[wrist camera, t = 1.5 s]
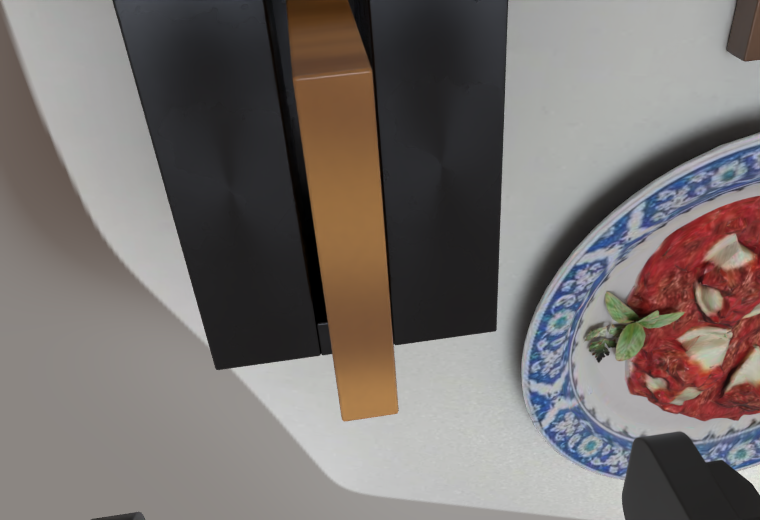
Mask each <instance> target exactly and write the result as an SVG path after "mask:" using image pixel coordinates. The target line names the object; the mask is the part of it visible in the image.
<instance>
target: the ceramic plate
mask: <svg viewBox="0 0 760 520" xmlns="http://www.w3.org/2000/svg"><path fill="white" fill-rule="evenodd" d="M521 381H522V390H523V396H524V400H525V404H526V408H527V411H528V413H529V415H530V417H531V419H532V421H533V424H534V426H535V427H536V429H537V430H538V432H539V434H540V435H541V436H542V437H543V439H544V440H545V441H546V442H547V443H548V444H549V445H550V446H551V447H552V448H553V449H554V450H555V451H556V452H557V453H559V454H560V455H561V456H563V457H564V458H566V459H567V460H569V461H570V462H572V463H573V464H575V465H577V466H579V467H581V468H584V469H586V470H589V471H591V472H594V473H596V474H600V475H603V476H607V477H611V478H615V479H621V480H625V477H626V473H627V468H628V463H629V458H630V453H631V448H632V444H633V441H634V440H635V439H636V438H638V437H645V436H651V435H658V434H664V433H671V432H677V431H681V432H684V433H685V434H686V435H688V437H689V438H690V439H691V440H692V442H693V443H694V445H695V446H696V448H697V449H698V451H699V453H700V454H701V456H702V457H703V459H704V461H705V462H711V461H717V460H723V461H724V462H726V463H727V464H728V465H729V466H731V467H732V468H733V469H734V470H735V471H740V470H743V469H747V468H750V467H754V466H757V465H759V464H760V132H759V133H756V134H753V135H750V136H747V137H744V138H741V139H738V140H735V141H732V142H729V143H726V144H723V145H720V146H718V147H716V148H714V149H712V150H710V151H708V152H706V153H703V154H701V155H699V156H697V157H695V158H693V159H691V160H689V161H687V162H685V163H683V164H681V165H679V166H677V167H675V168H674V169H672V170H670V171H669V172H667V173H665V174H664V175H662V176H660V177H659V178H657V179H655V180H654V181H652V182H651V183H649V184H648V185H647V186H645V187H644V188H642V189H641V190H639V191H638V192H636V193H635V194H634V195H632V196H631V197H630V198H628V199H627V200H626V201H625V202H623V203H622V204H621V205H620V206H618V207H617V208H616V209H615V210H614V211H612V212H611V213H610V214H609V215H608V216H607V217H606V218H605V219H604V220H602V221H601V222H600V223H599V224H598V225H597V226H596V227H595V228H594V229H593V230H592V231H591V232H590V233H589V234H588V235H587V236H586V237H585V238H584V239H583V241H582V242H581V243H580V244H579V245H578V246H577V247H576V248H575V249H574V250H573V252H572V253H571V254H570V256H569V257H568V258H567V259H566V261H565V262H564V263H563V265H562V266H561V267H560V268H559V270H558V271H557V273H556V275H555V276H554V278H553V279H552V281H551V282H550V284H549V285H548V287H547V289H546V290H545V292H544V294H543V296H542V298H541V300H540V302H539V304H538V306H537V308H536V310H535V313H534V315H533V318H532V320H531V323H530V325H529V329H528V332H527V336H526V339H525V343H524V348H523V355H522V362H521Z"/></svg>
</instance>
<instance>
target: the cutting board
mask: <svg viewBox="0 0 760 520" xmlns="http://www.w3.org/2000/svg"><path fill="white" fill-rule="evenodd" d="M727 51H728V52H730V53H731V54H733V55H734V56H736V57H738V58H739V59H741V60H742V61H753V60H760V0H738V1H737V5H736V10H735V14H734V19H733V23H732V28H731V33H730V37H729V42H728V46H727Z"/></svg>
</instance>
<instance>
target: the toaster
mask: <svg viewBox="0 0 760 520" xmlns="http://www.w3.org/2000/svg"><path fill="white" fill-rule="evenodd" d="M112 1H113V4H114V8H115V11H116V15H117V19H118V22H119V26H120V29H121V33H122V36H123V40H124V44H125V47H126V51H127V54H128V58H129V61H130V65H131V69H132V72H133V76H134V79H135V83H136V86H137V90H138V94H139V97H140V101H141V104H142V108H143V111H144V115H145V119H146V122H147V126H148V129H149V133H150V136H151V140H152V144H153V147H154V151H155V154H156V158H157V161H158V165H159V169H160V172H161V176H162V179H163V183H164V186H165V190H166V194H167V197H168V201H169V204H170V208H171V211H172V215H173V219H174V222H175V226H176V229H177V233H178V236H179V240H180V244H181V247H182V251H183V254H184V258H185V261H186V265H187V269H188V272H189V276H190V279H191V283H192V286H193V290H194V294H195V297H196V301H197V304H198V308H199V311H200V315H201V319H202V322H203V326H204V329H205V333H206V336H207V340H208V344H209V347H210V351H211V354H212V358H213V361H214V365H215V368H216V370H221V369H228V368H236V367H243V366H250V365H257V364H264V363H271V362H278V361H285V360H292V359H299V358H307V357H314V356H320V355H321V354H322V355H328V354H332V348H331V341H330V334H329V327H328V320H327V313H326V306H325V300H324V293H323V286H322V279H321V272H320V265H319V258H318V252H317V245H316V238H315V231H314V224H313V217H312V210H311V203H310V197H309V190H308V183H307V176H306V169H305V162H304V155H303V148H302V142H301V135H300V128H299V121H298V114H297V107H296V100H295V93H294V87H293V79H292V67H291V56H290V44H289V32H288V20H287V8H286V0H112ZM348 2H349V5H350V8H351V11H352V13H353V16H354V19H355V22H356V25H357V28H358V31H359V34H360V36H361V39H362V42H363V45H364V48H365V51H366V54H367V57H368V60H369V62H370V65H371V68H372V71H373V84H374V97H375V110H376V123H377V136H378V149H379V162H380V175H381V188H382V202H383V215H384V228H385V241H386V254H387V267H388V280H389V293H390V306H391V319H392V332H393V345H394V344H395V345H401V344H408V343H415V342H422V341H429V340H436V339H443V338H450V337H457V336H465V335H472V334H479V333H486V332H493V331H496V325H497V297H498V269H499V241H500V213H501V185H502V157H503V129H504V101H505V73H506V45H507V17H508V0H348Z"/></svg>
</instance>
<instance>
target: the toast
mask: <svg viewBox="0 0 760 520" xmlns="http://www.w3.org/2000/svg"><path fill="white" fill-rule="evenodd" d="M286 8H287V20H288V32H289V44H290V56H291V67H292V79H293V87H294V93H295V100H296V107H297V114H298V121H299V128H300V135H301V142H302V148H303V155H304V162H305V169H306V176H307V183H308V190H309V197H310V203H311V210H312V217H313V224H314V231H315V238H316V245H317V252H318V258H319V265H320V272H321V279H322V286H323V293H324V300H325V306H326V313H327V320H328V327H329V334H330V341H331V348H332V355H333V361H334V368H335V375H336V382H337V389H338V396H339V403H340V410H341V416H342V420H343V421H351V420H358V419H365V418H371V417H378V416H385V415H392V414H397V413H398V397H397V384H396V371H395V358H394V345H393V332H392V319H391V306H390V293H389V280H388V267H387V254H386V241H385V228H384V215H383V202H382V188H381V175H380V162H379V149H378V136H377V123H376V110H375V97H374V84H373V71H372V68H371V65H370V62H369V60H368V57H367V54H366V51H365V48H364V45H363V42H362V39H361V36H360V34H359V31H358V28H357V25H356V22H355V19H354V16H353V13H352V11H351V8H350V5H349V2H348V0H286Z"/></svg>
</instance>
